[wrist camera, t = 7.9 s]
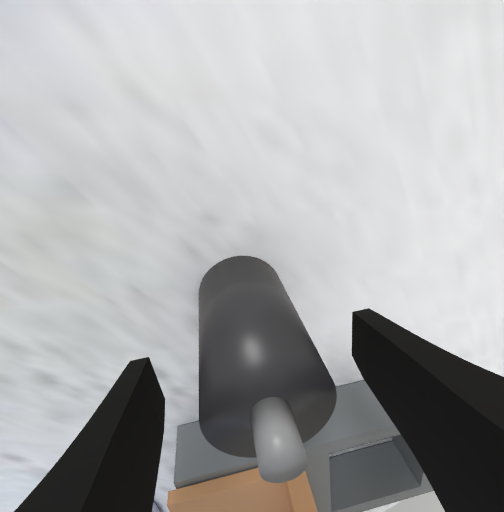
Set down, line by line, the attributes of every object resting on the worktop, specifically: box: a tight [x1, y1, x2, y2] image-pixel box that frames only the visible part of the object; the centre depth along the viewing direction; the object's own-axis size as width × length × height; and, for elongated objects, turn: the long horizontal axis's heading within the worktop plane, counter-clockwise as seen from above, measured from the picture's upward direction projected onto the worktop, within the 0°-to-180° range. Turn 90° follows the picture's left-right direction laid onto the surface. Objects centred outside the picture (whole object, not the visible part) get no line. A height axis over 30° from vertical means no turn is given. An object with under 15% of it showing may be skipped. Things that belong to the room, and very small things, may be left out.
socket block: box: [174, 380, 433, 512], centre depth 18 cm, size 15×8×3 cm, turn 98°
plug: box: [199, 256, 337, 483], centre depth 11 cm, size 4×4×8 cm
